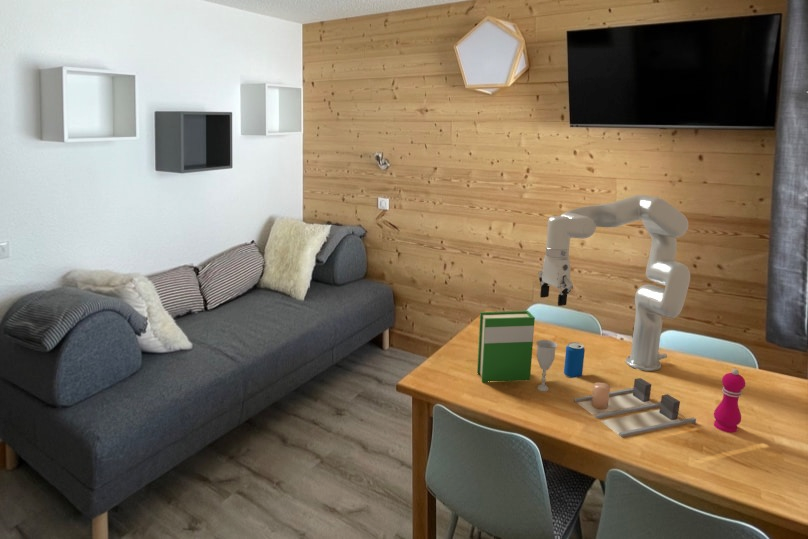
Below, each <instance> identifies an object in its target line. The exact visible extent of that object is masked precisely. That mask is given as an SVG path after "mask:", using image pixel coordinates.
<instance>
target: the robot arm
mask: <svg viewBox="0 0 808 539" xmlns="http://www.w3.org/2000/svg"><path fill="white" fill-rule="evenodd" d="M637 221H642V225H643V227H644V229H645V230H646V231H647V232H648V234H649V237H650V240H651V247H650V251H649V256H648V258H647V263H646V264H647V265H646V269H645V276H646V278H647V279H648V280H649V281H652V282H654V283H656V284H659V285H661V286H664V288H663V287H659V286H658V285H654V284H643V285H641V286H640V287H638V288H637V290H636V292H635V295H634V303H635V304H634V305H635V318H634V325H633V326H634V327H633V332H632V333H633V334H632V343H631V350H630V355H629V356H626V358H625V363H626V365H628V366H630V367H631V368H633V369H636V370H640V371H644V372H645V371H647V372H654V371H658V370H660V369H661V367H662V363H661V361H660V360H662V359H667V358H668V354H667V353H666V352H665V353H664V352H663V353H660V352H659V349H660V342H661V336H662V328H663V318H662V317H664V318H665V319H674V318H676V317H678V316H679V315H680V314H681V312H682V310H683V308H684V305H685V302H686V297H687V294H688V289H689V285H690V282H691V272H690V269H689V267H688V266H687V265H685V264H684V263H681V262H679V261H676V260H675V259H676V253H677V249H678V248H677V247H678V242H677V238H680V237H682V236H684V235H685V234H686V233H687V232H688V230H689V220H688V218H687V217H686V216H685V214H683V213H682V212H681V211H680V210H679V209H677V208H676V207H674V206H673V205H671V204H670V203H669V202H668V201H667V200H665V199H663V198H660V197H656V196H653V195H652V196H649V195H644V194H637V195H633V196H630V197H629V196H628V197H626V198H623V199H620V200H616V201H614V202H610V203H601V204H595V205H588V206H587V205H586V206H581V207H577V208H573V209H570V210H568V211H566V212H563V213H562V214H561V215H553V216H550V217H549V218H548V221H547V231H546V242H545V243H546V246H545V255H544V259H543V264H542V270H540V271H538V280H539V282H540V283H539V286H540V294H539V296H540V297H539V298H548V297H549V295H550V287H555V288H556V289H557V290H558V292H559V294H558V297H557V306H558V307H561V306H563V307H564V306H566V305H567V301H568V300H567V299H568V295H569V294H570V293H571V290H572V288H573V285H574V284H573V282H572V281H571V260H570V258H569V251H570V244H571V239H587V238H591V237H592V236H593V235H594V234H595V233H596V230H597V227H600V228H618V227H620V226H624V225H627V224H630V223H632V222H637Z"/></svg>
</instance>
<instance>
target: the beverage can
mask: <svg viewBox="0 0 808 539" xmlns="http://www.w3.org/2000/svg"><path fill="white" fill-rule="evenodd" d="M585 350H586V349H585V346H584V344H583V343H580V342H573V341H572V342H569V343H567V345H566V347H565V356H564V367H563V374H564V375H565V376H566V377H567V378H569V379H575V378H579V377H582V376H583V372H584V371H583V370H584V360H585V352H586V351H585Z"/></svg>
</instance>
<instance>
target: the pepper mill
mask: <svg viewBox="0 0 808 539" xmlns="http://www.w3.org/2000/svg"><path fill="white" fill-rule="evenodd" d="M721 384H722V385H723V387H722V390H721V392H722V393H723V396H722V400H721V401H720V403H719V404H718V405H717V407H716V408H715V409H714V413H713V417H714V420H713V421H714V422H713V426H714V427H715V429H717V430H718V431H721V432H724V433H731V434H732V433H736V432H738V429H739V427H738V425H739V424H741V422H742V414H741V410H740V407H739V398H740V397H742V393H743V391H742V390H744V388H745V387H746V380H745V378H744V377H743V375H741V374H740V371H739V369H737V368H733V369H732V370H731V372H728V373H725V374H724V375H723V376H722V379H721Z"/></svg>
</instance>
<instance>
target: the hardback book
mask: <svg viewBox="0 0 808 539" xmlns="http://www.w3.org/2000/svg"><path fill="white" fill-rule="evenodd" d="M535 319H536V318H535V316H534V315H533V314H532V313H531V312H530V311H529V310H511V311H510V310H509V311H508V310H507V311H504V310H502V311H480V312H479V327H478V328H479V330H478V331H479V332H478V348H477V350H478V352H477V353H478V354H477V366H476V367H477V368H476V369H477V372H476V373H478V374H477V375H480V376H481V383H482V382H483V383H491V382H490V381H505V382H521V381H526V380H527V381H531V372H532V358H533V345H534V333H535V332H534V331H535V322H536V320H535ZM488 381H489V382H488Z"/></svg>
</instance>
